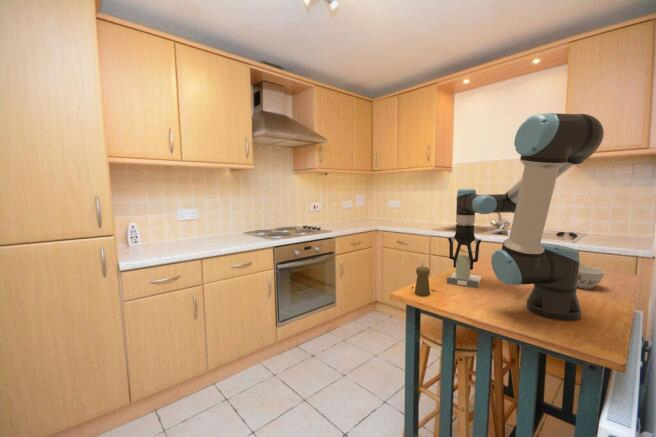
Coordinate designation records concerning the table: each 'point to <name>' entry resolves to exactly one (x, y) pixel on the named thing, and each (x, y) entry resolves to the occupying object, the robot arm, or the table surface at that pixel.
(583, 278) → the teacup
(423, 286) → the olive tapered upright piece
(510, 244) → the robot arm
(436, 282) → the table surface
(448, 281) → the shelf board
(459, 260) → the tea tin
